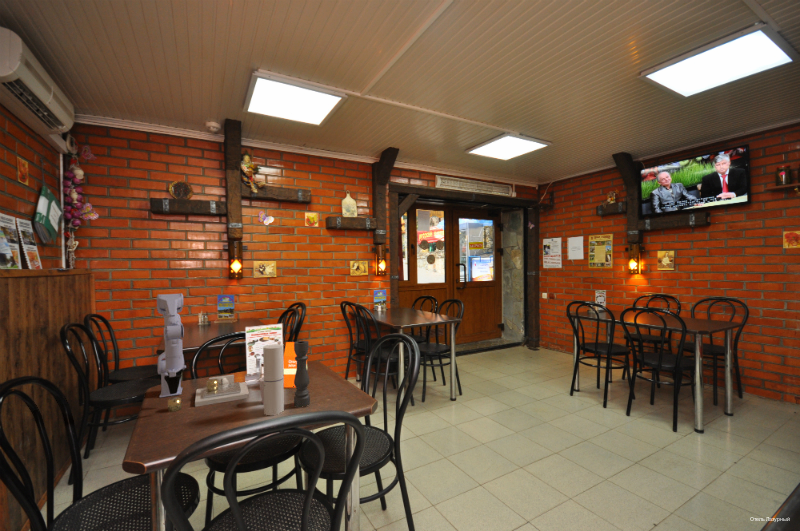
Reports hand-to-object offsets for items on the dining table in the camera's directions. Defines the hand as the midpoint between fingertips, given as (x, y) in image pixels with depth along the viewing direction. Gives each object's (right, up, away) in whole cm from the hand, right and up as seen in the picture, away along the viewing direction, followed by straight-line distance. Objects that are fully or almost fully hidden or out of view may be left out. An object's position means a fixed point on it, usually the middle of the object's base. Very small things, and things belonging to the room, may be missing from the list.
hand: (174, 390), depth 142 cm
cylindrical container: (+40, -7, -4) cm, 41 cm away
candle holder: (+49, -7, +3) cm, 50 cm away
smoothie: (+34, -7, +6) cm, 35 cm away
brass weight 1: (0, -7, 0) cm, 7 cm away
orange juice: (+39, -7, +28) cm, 49 cm away
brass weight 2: (+8, -4, +13) cm, 16 cm away
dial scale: (+11, -7, +15) cm, 20 cm away
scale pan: (+11, -5, +15) cm, 20 cm away
